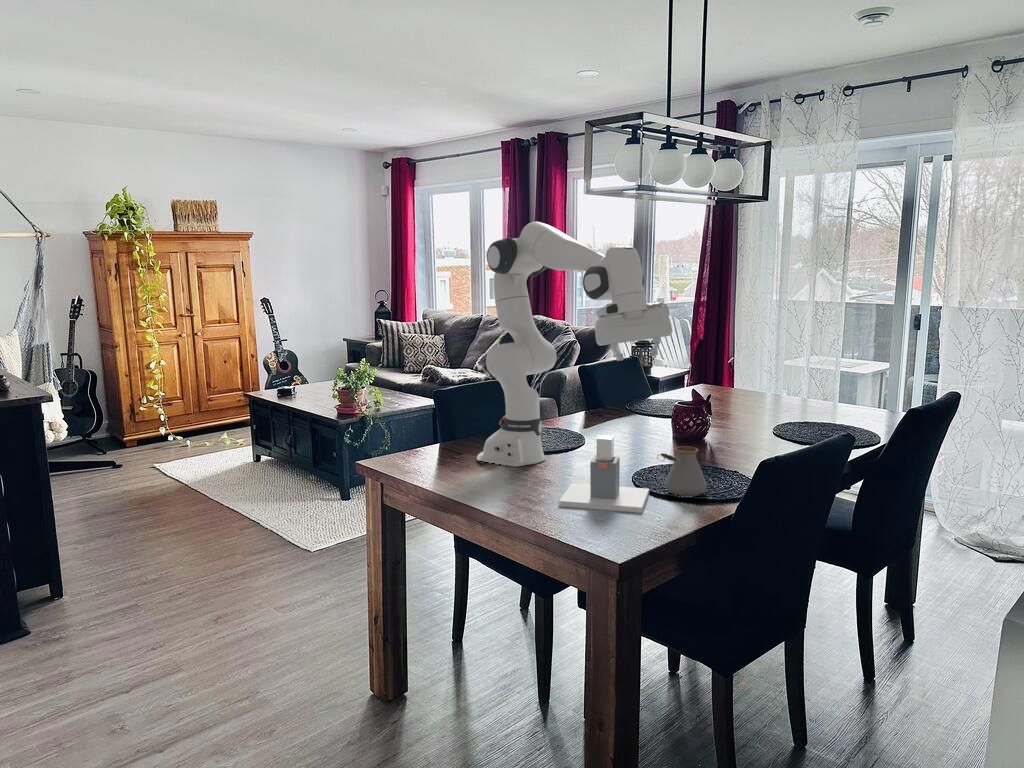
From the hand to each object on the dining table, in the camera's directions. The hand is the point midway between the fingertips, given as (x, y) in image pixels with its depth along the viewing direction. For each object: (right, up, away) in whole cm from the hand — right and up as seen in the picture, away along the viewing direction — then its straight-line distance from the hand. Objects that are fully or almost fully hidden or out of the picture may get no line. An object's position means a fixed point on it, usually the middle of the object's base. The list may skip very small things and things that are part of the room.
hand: (637, 358), depth 193 cm
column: (-8, -37, +7) cm, 38 cm away
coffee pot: (+12, -38, +8) cm, 41 cm away
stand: (-8, -39, +8) cm, 40 cm away
